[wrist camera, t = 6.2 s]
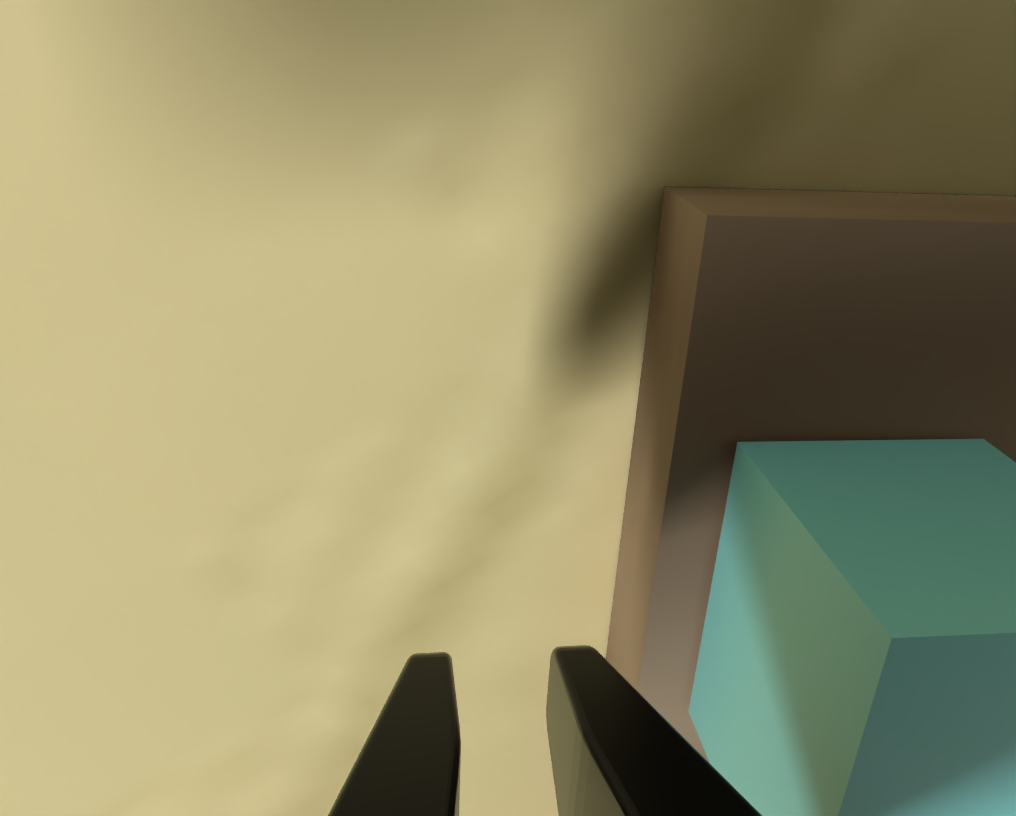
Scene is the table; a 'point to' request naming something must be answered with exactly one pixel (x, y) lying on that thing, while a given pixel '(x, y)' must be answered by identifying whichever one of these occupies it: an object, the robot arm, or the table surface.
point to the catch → (864, 630)
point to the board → (796, 372)
